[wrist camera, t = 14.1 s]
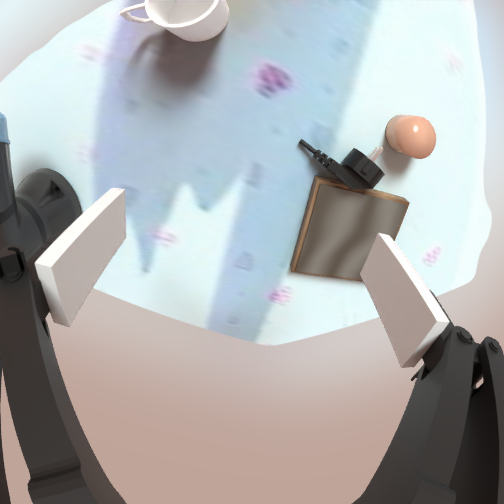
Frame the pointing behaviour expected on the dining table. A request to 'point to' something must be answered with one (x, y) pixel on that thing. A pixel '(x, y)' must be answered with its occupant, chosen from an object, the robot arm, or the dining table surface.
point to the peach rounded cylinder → (411, 136)
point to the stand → (344, 228)
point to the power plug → (352, 167)
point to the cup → (184, 17)
